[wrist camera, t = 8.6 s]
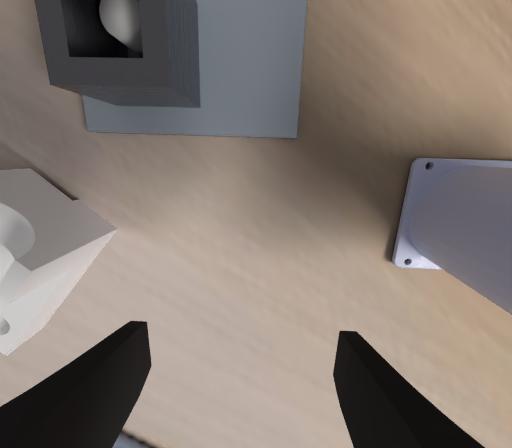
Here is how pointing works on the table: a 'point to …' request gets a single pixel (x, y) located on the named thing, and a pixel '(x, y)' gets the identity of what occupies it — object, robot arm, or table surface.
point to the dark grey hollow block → (123, 53)
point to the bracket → (41, 251)
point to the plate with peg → (220, 72)
